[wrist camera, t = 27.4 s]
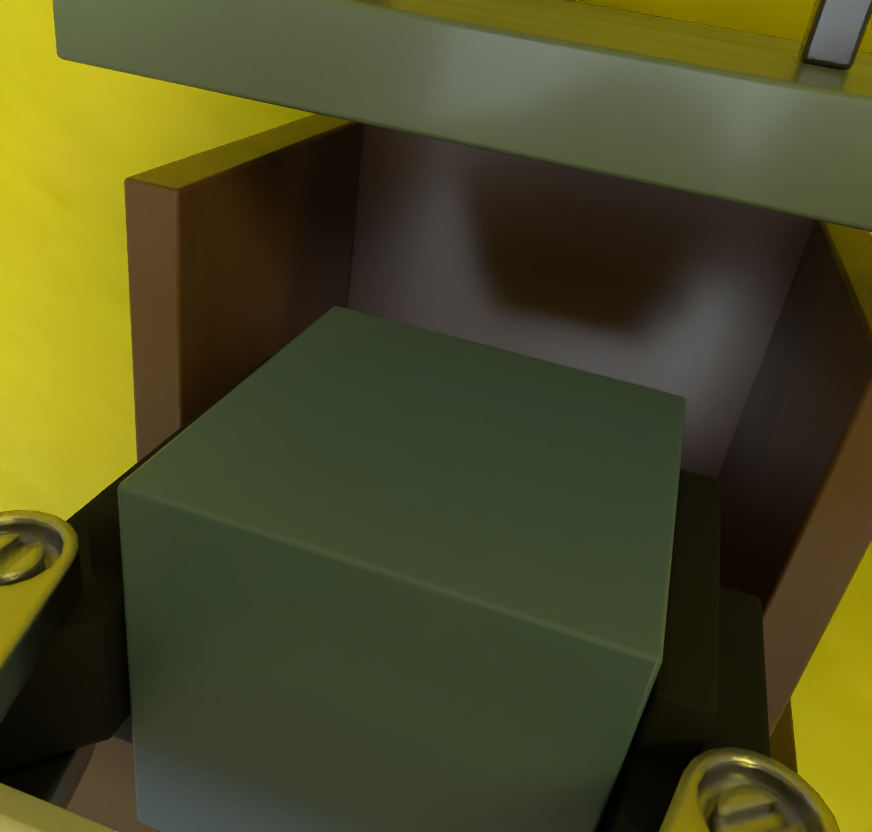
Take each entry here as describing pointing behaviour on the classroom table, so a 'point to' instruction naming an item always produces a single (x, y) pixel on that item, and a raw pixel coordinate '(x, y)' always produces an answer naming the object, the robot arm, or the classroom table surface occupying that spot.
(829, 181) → the drawer
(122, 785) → the cabinet
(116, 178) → the classroom table surface
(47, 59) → the classroom table surface
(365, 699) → the block
